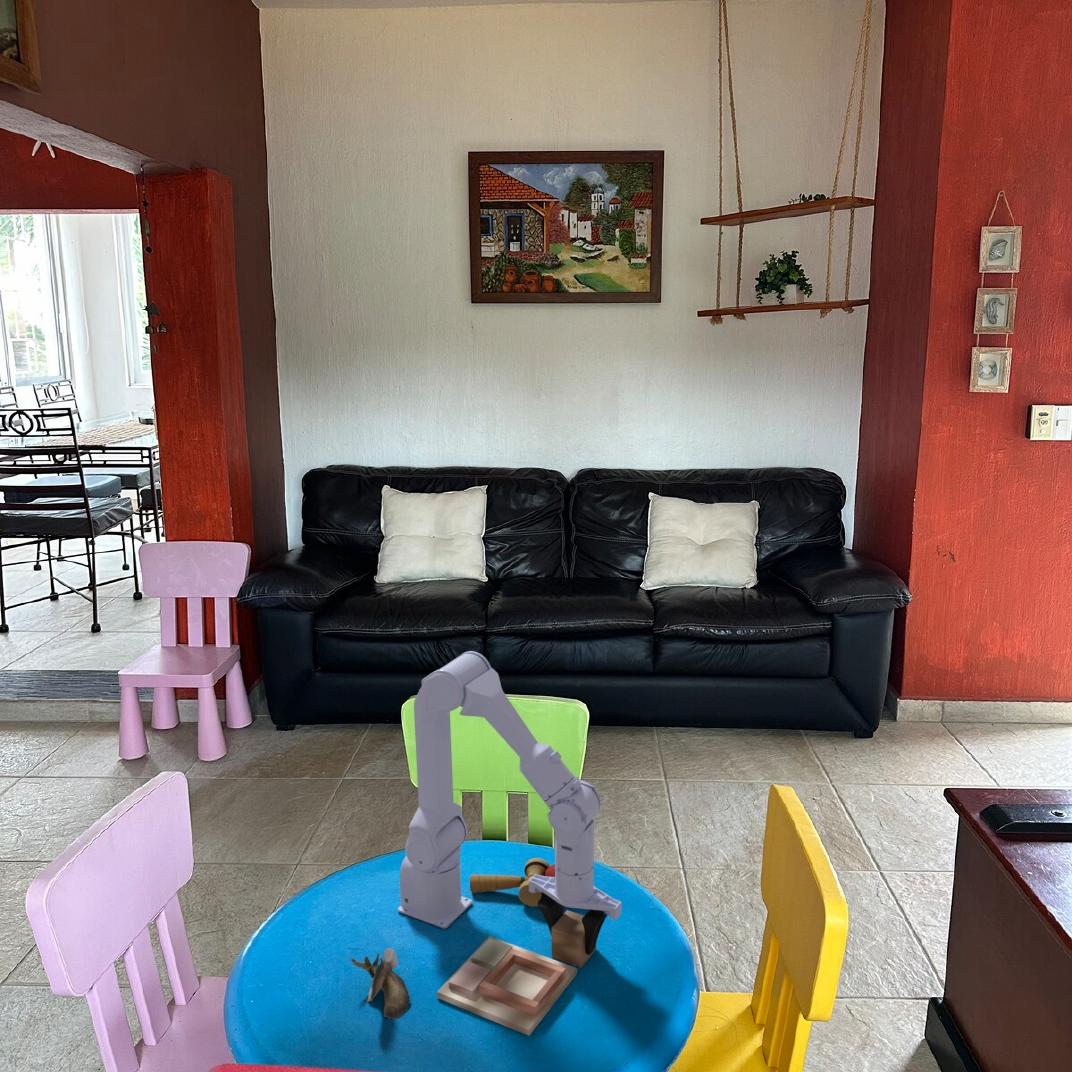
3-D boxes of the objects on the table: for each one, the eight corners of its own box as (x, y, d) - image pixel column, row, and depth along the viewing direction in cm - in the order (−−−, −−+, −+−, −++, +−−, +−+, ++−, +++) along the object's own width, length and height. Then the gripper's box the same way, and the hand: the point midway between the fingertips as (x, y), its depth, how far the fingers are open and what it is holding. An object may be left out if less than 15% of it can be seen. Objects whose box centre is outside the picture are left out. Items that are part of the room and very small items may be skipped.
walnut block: (551, 957, 146) (551, 928, 145) (566, 938, 150) (567, 910, 149) (581, 968, 144) (581, 938, 143) (596, 948, 148) (596, 919, 147)
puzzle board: (437, 997, 138) (436, 982, 137) (489, 941, 150) (489, 927, 149) (529, 1035, 131) (529, 1020, 130) (576, 973, 143) (576, 959, 142)
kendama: (469, 915, 158) (578, 909, 156) (464, 877, 158) (574, 870, 156) (478, 895, 166) (583, 888, 164) (473, 859, 166) (578, 851, 163)
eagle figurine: (338, 986, 139) (360, 1014, 131) (359, 937, 140) (382, 961, 132) (383, 997, 142) (407, 1025, 135) (403, 949, 144) (428, 974, 136)
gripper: (630, 864, 143) (629, 944, 147) (544, 838, 150) (544, 915, 154) (610, 889, 137) (609, 972, 141) (521, 861, 144) (522, 941, 148)
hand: (574, 944), depth 147 cm, fingers closed on walnut block, 5 cm apart
